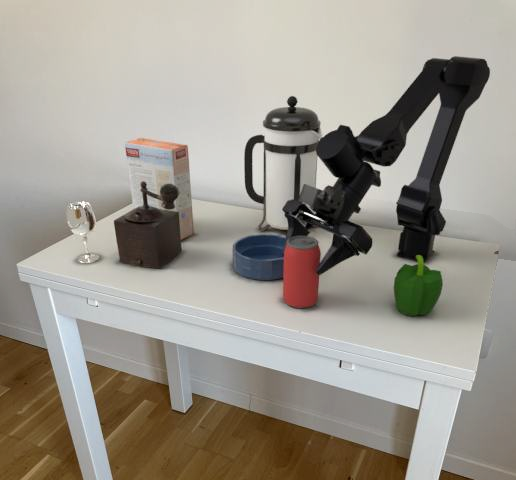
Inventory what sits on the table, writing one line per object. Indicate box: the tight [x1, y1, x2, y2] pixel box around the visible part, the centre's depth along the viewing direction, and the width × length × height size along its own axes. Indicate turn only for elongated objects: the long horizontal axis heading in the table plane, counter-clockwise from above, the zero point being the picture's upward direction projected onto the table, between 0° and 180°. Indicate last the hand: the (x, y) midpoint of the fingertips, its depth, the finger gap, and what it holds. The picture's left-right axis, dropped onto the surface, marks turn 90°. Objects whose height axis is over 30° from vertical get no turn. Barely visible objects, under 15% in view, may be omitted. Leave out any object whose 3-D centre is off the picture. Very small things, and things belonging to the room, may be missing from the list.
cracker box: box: [124, 137, 195, 241], centre depth 125 cm, size 14×6×21 cm, turn 58°
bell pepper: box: [393, 255, 444, 317], centre depth 96 cm, size 8×8×10 cm
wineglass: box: [66, 201, 100, 264], centre depth 115 cm, size 6×6×12 cm
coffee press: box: [243, 95, 324, 232], centre depth 125 cm, size 17×16×30 cm
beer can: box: [282, 235, 322, 309], centre depth 99 cm, size 7×7×12 cm
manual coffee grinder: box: [113, 181, 183, 269], centre depth 113 cm, size 16×11×18 cm
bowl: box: [231, 233, 286, 281], centre depth 114 cm, size 14×14×4 cm
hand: (299, 264), depth 98 cm, fingers open, 9 cm apart
